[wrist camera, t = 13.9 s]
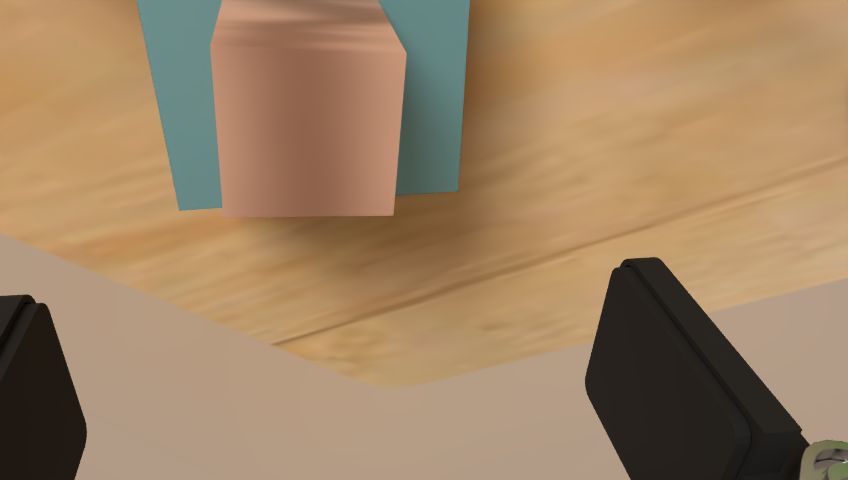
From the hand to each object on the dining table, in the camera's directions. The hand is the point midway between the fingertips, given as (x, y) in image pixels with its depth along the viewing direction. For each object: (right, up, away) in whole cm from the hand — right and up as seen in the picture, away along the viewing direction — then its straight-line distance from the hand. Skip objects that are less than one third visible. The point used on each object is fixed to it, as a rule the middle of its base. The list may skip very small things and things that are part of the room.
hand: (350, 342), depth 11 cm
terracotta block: (-3, +8, +12) cm, 15 cm away
